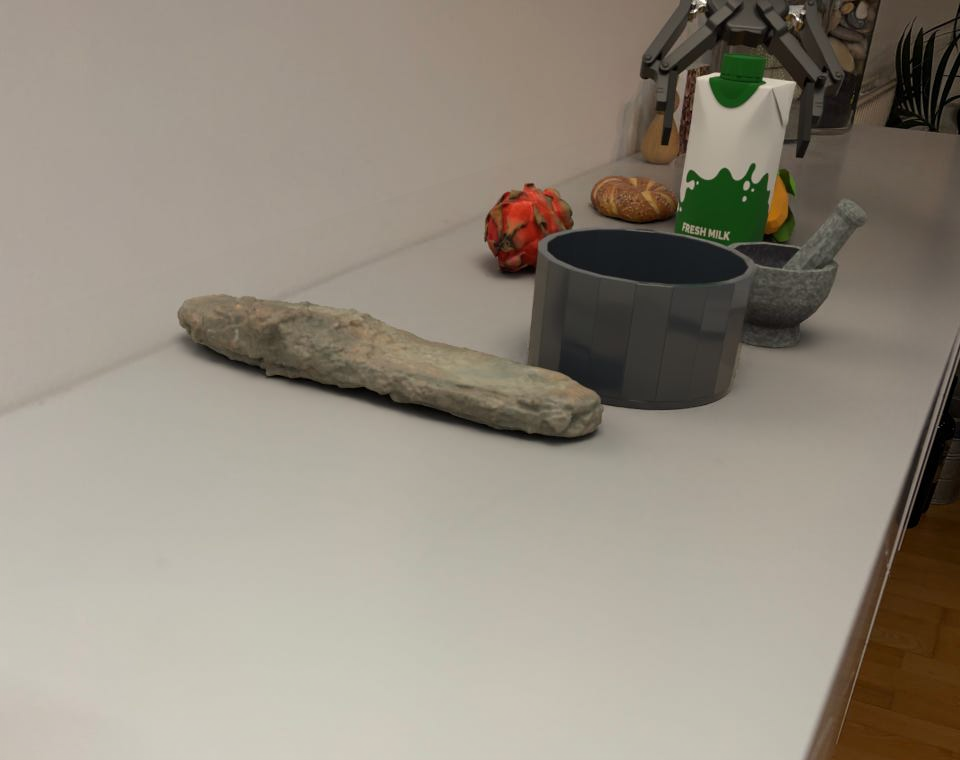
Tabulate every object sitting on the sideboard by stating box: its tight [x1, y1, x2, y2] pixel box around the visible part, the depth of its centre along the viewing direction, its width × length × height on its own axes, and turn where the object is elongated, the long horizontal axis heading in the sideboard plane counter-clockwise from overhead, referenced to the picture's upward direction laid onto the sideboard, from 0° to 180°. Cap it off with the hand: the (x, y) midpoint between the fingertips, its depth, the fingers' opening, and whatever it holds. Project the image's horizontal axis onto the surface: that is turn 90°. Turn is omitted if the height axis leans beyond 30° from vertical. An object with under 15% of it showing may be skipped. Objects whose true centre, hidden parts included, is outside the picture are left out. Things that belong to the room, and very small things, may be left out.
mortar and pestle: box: [727, 198, 868, 349], centre depth 93 cm, size 11×9×12 cm
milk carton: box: [673, 52, 797, 246], centre depth 109 cm, size 9×9×20 cm
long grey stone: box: [177, 293, 605, 438], centre depth 79 cm, size 35×5×10 cm
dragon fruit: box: [483, 182, 575, 273], centre depth 107 cm, size 8×8×12 cm
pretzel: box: [590, 175, 679, 223], centre depth 133 cm, size 12×11×4 cm
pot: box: [527, 226, 758, 410], centre depth 84 cm, size 16×16×9 cm
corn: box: [764, 167, 797, 243], centre depth 126 cm, size 7×8×20 cm
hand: (734, 143), depth 108 cm, fingers open, 13 cm apart
